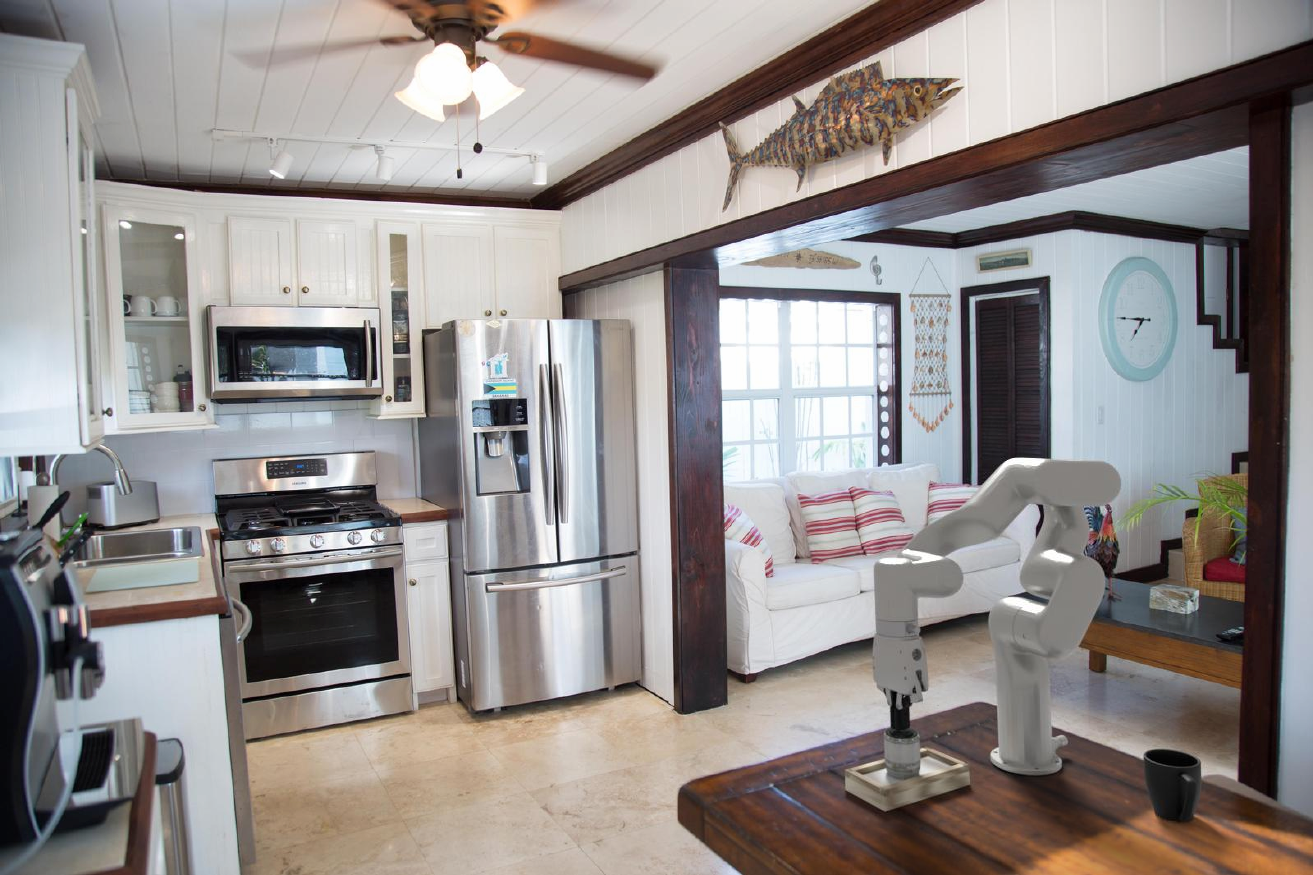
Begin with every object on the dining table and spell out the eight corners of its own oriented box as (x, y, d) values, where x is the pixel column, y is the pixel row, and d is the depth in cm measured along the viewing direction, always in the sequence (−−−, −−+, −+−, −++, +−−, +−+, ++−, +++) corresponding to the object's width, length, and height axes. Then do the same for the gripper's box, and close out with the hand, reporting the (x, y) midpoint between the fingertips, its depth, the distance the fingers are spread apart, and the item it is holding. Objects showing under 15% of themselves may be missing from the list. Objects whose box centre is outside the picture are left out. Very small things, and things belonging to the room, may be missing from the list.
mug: (1163, 836, 139) (1161, 776, 138) (1138, 803, 150) (1136, 747, 150) (1221, 839, 137) (1219, 778, 137) (1191, 805, 149) (1189, 749, 149)
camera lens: (919, 782, 156) (917, 738, 156) (882, 778, 159) (881, 734, 158) (922, 768, 162) (921, 725, 162) (887, 764, 164) (885, 722, 164)
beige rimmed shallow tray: (928, 765, 170) (927, 746, 170) (969, 784, 161) (969, 764, 161) (845, 790, 161) (844, 770, 161) (885, 811, 152) (884, 790, 151)
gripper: (943, 632, 155) (946, 736, 155) (884, 617, 168) (887, 713, 168) (910, 638, 151) (914, 745, 152) (853, 622, 165) (856, 720, 165)
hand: (900, 728), depth 160 cm, fingers closed
